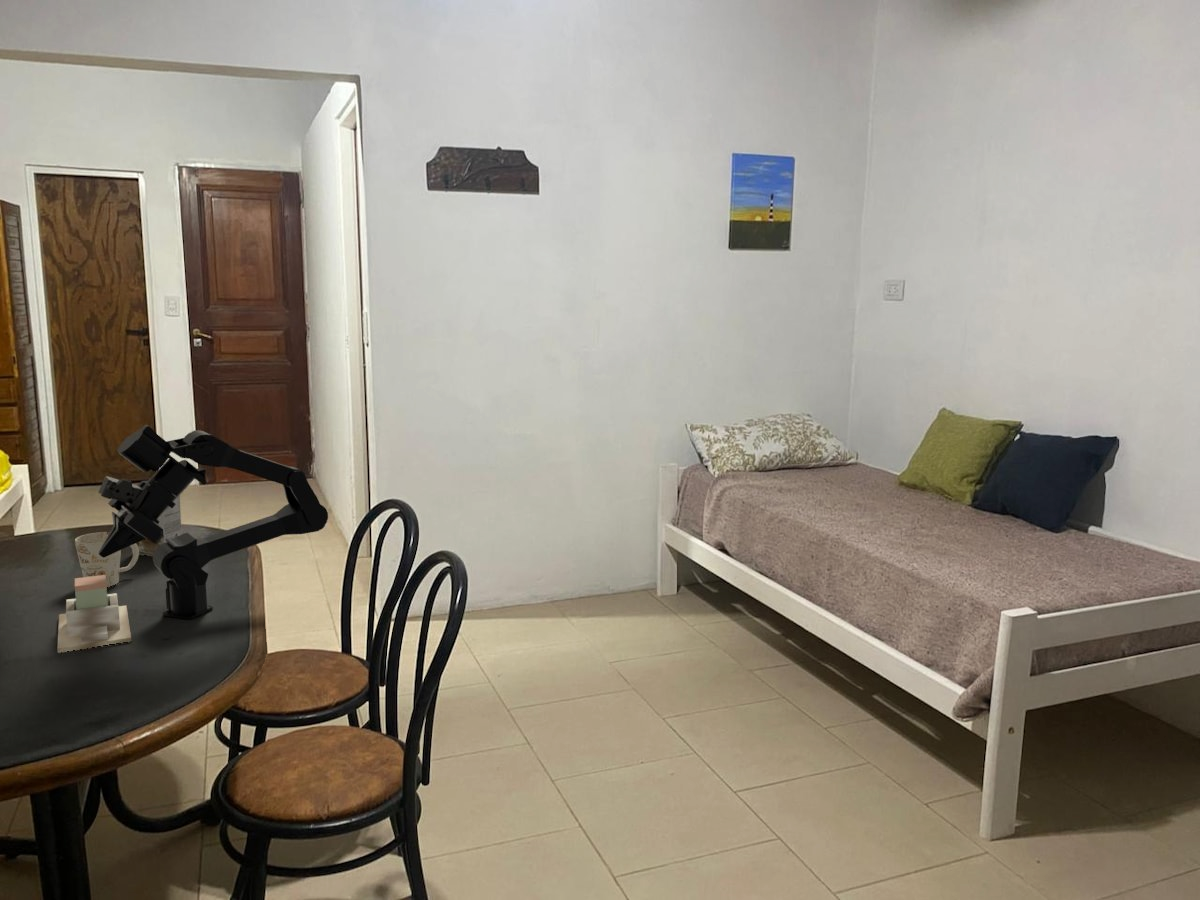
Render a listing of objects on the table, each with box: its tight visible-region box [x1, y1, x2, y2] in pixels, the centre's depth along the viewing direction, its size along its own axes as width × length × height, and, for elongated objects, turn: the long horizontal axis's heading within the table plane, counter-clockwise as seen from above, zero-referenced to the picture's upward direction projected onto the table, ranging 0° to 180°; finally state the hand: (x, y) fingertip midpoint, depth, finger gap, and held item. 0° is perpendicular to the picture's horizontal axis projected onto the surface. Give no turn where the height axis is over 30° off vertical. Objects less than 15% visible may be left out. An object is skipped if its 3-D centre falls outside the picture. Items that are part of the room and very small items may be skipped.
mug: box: [74, 531, 140, 588], centre depth 188 cm, size 8×13×10 cm, turn 152°
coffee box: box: [131, 480, 183, 557], centre depth 208 cm, size 9×6×16 cm
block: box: [74, 575, 108, 610], centre depth 162 cm, size 5×5×8 cm
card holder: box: [57, 592, 132, 654], centre depth 163 cm, size 11×18×5 cm, turn 29°
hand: (100, 555), depth 162 cm, fingers closed
